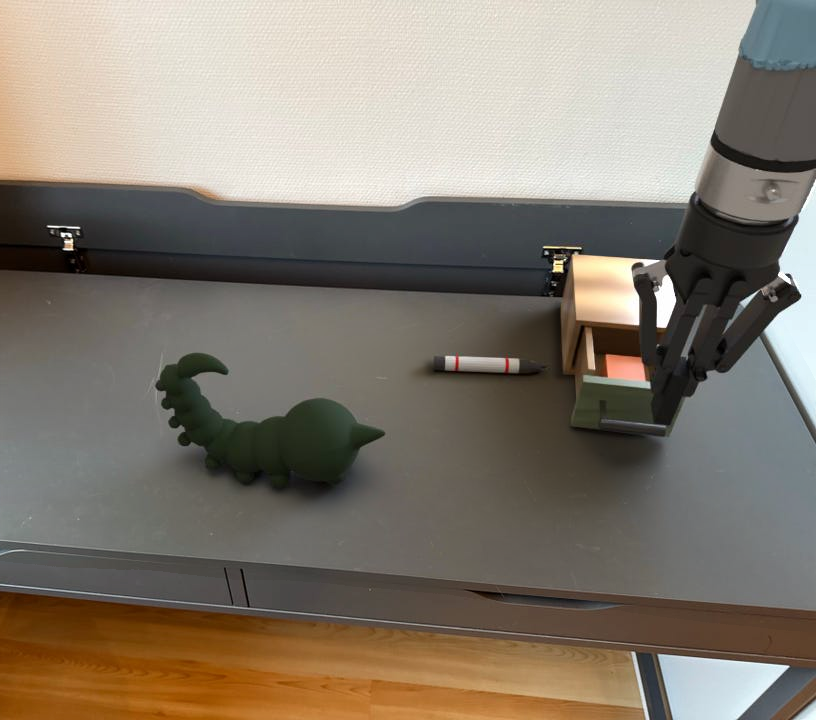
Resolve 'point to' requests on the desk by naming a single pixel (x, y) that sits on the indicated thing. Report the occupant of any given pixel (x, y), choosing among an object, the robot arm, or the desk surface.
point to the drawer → (613, 385)
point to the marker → (486, 364)
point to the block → (623, 367)
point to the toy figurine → (264, 431)
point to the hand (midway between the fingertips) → (660, 414)
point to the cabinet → (605, 299)
